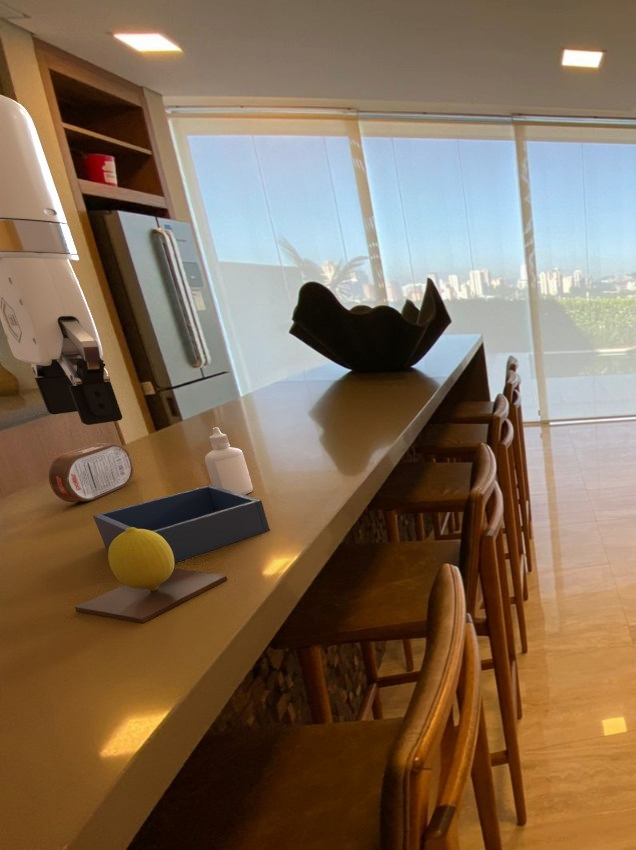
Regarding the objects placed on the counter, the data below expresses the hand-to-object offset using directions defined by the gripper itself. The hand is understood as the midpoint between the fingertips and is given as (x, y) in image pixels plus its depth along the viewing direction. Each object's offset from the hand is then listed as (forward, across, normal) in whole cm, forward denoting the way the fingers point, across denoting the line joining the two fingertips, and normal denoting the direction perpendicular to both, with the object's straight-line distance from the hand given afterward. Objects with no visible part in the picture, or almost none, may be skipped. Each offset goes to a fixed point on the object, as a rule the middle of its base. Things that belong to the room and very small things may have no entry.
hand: (85, 416), depth 61 cm
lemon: (+20, +4, -1) cm, 21 cm away
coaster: (+20, +4, -1) cm, 21 cm away
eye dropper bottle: (+21, -25, +22) cm, 39 cm away
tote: (+21, -11, +9) cm, 25 cm away
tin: (+21, -47, +10) cm, 52 cm away
